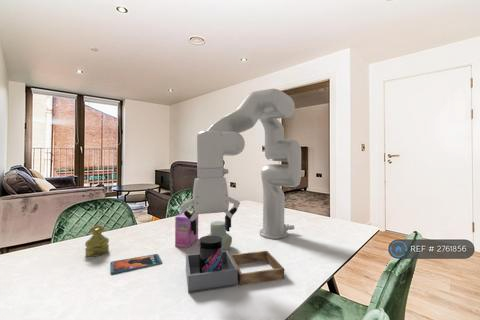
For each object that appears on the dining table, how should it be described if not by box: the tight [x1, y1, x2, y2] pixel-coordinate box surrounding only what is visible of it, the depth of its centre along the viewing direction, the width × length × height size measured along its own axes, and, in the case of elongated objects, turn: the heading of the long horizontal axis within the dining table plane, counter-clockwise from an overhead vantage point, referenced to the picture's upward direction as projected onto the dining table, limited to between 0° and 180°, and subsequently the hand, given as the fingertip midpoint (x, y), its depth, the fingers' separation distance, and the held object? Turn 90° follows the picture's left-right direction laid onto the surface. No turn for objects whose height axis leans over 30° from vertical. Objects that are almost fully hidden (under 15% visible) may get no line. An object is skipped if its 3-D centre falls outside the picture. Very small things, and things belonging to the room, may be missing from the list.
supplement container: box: [198, 235, 222, 273], centre depth 69 cm, size 7×7×10 cm
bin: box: [185, 250, 239, 294], centre depth 69 cm, size 13×13×4 cm
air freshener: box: [206, 220, 233, 251], centre depth 89 cm, size 11×8×10 cm
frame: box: [229, 250, 285, 286], centre depth 73 cm, size 13×13×3 cm
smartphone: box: [109, 253, 163, 275], centre depth 77 cm, size 8×1×15 cm
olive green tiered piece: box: [84, 224, 110, 258], centre depth 86 cm, size 7×7×10 cm
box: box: [174, 210, 199, 249], centre depth 96 cm, size 10×6×12 cm, turn 168°
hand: (211, 231), depth 69 cm, fingers open, 9 cm apart
